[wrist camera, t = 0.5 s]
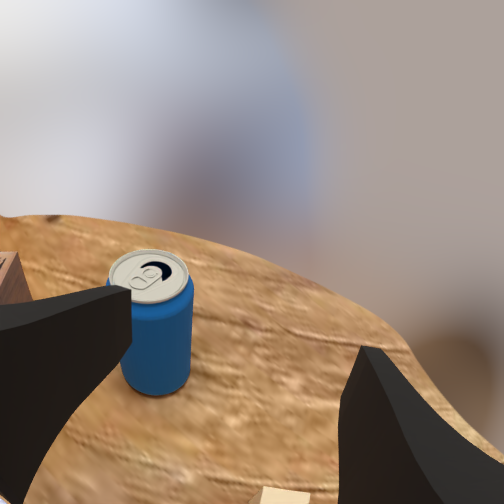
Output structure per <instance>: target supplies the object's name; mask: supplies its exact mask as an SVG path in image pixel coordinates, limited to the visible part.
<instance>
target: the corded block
mask: <svg viewBox="0 0 504 504" xmlns="http://www.w3.org/2000/svg"><path fill="white" fill-rule="evenodd" d="M309 499H310V493H305V492H297V491H290V490H283V489H277V488H271V487H266V486H263V487H262V489H261V490H260V491H259V492H258V493H257V494H256V495H255V496H254V497H253V498H252V499H251V500H250V501H249V502H248V504H309Z"/></svg>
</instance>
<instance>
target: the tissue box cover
mask: <svg viewBox="0 0 504 504" xmlns="http://www.w3.org/2000/svg"><path fill="white" fill-rule="evenodd" d="M30 301H33V299H32V296H31V293H30V290H29V287H28V284H27V281H26V278H25V275H24V272H23V269H22V265H21V262H20V258H19V255H18V251H0V305H5V304H15V303H23V302H30Z"/></svg>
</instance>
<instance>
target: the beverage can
mask: <svg viewBox="0 0 504 504" xmlns="http://www.w3.org/2000/svg"><path fill="white" fill-rule="evenodd" d="M108 285H119V286H122V287H125V288H128V289H132V344H131V345H130V347H129V348H128V350H127V351H126V353H125V354H124V356H123V357H122V359H121V360H120V364H121V368H122V372H123V375H124V377H125V379H126V381H127V382H128V383H129V384H130V385H131V386H132V387H133V388H134V389H136V390H138V391H140V392H142V393H145V394H149V395H165V394H169V393H171V392H174V391H176V390H177V389H179V388H180V387H181V386H182V385H183V384H184V383H185V382H186V380H187V378H188V376H189V373H190V359H191V335H192V315H193V297H194V285H193V282H192V279H191V277H190V275H189V274H188V269H187V266H186V264H185V263H184V262H183V261H182V260H181V259H180V258H179V257H177V256H176V255H174V254H172V253H169V252H166V251H162V250H157V249H143V250H137V251H133V252H130V253H128V254H125V255H124V256H122V257H120V258H119V259H118V260H117V261H115V263H114V264H113V265H112V267H111V269H110V272H109V278H108V280H107V283H106V286H108Z"/></svg>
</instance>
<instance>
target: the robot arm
mask: <svg viewBox="0 0 504 504" xmlns="http://www.w3.org/2000/svg"><path fill="white" fill-rule="evenodd" d="M131 344H132V289H128V288H125V287H122V286H119V285H108V286H102V287H97V288H92V289H88V290H83V291H79V292H74V293H70V294H65V295H61V296H56V297H51V298H46V299H41V300H35V301H30V302H23V303H15V304H5V305H0V495H1V496H3V497H4V498H5V499H6V500H7V501H9V502H10V503H11V504H23V502H24V499H25V496H26V494H27V492H28V489H29V487H30V485H31V483H32V480H33V478H34V476H35V474H36V472H37V470H38V468H39V466H40V464H41V462H42V461H43V459H44V457H45V455H46V453H47V452H48V450H49V448H50V447H51V445H52V443H53V442H54V440H55V439H56V437H57V435H58V434H59V432H60V431H61V429H62V428H63V427H64V425H65V424H66V422H67V421H68V419H69V418H70V416H71V415H72V414H73V413H74V411H75V410H76V409H77V408H78V407H79V405H80V404H81V403H82V402H83V401H84V400H85V399H86V398H87V397H88V396H89V395H90V394H91V392H92V391H93V390H94V389H95V388H96V387H97V386H98V385H99V384H100V383H101V382H102V381H103V380H104V379H105V378H106V376H107V375H108V374H109V373H110V372H111V371H112V370H113V369H114V368H115V367H116V365H117V364H118V363H119V362H120V360H121V359H122V357H123V356H124V354H125V353H126V351H127V350H128V348H129V347H130V345H131ZM338 446H339V496H338V504H504V465H503V464H501V463H500V462H498V461H496V460H495V459H493V458H492V457H490V456H489V455H487V454H486V453H484V452H483V451H481V450H480V449H479V448H477V447H476V446H474V445H473V444H472V443H470V442H469V441H468V440H467V439H465V438H464V437H463V436H462V435H460V434H459V433H458V432H457V431H456V430H455V429H454V428H452V427H451V426H450V425H449V424H448V423H447V422H446V421H445V420H444V419H442V418H441V417H440V416H439V415H438V414H437V413H436V412H435V411H434V409H433V408H432V407H431V406H430V405H429V404H428V403H427V402H426V401H425V400H424V399H423V398H422V397H421V395H420V394H419V393H418V392H417V391H416V390H415V389H414V387H413V386H412V385H411V384H410V383H409V382H408V380H407V379H406V378H405V377H404V376H403V374H402V373H401V372H400V371H399V369H398V368H397V367H396V366H395V364H394V363H393V362H392V361H391V360H390V358H389V357H388V356H387V355H386V354H385V353H384V352H383V351H382V350H381V349H379V348H374V347H368V346H362V345H361V347H360V350H359V353H358V355H357V358H356V361H355V363H354V366H353V368H352V371H351V373H350V376H349V378H348V381H347V383H346V386H345V388H344V390H343V393H342V395H341V399H340V409H339V420H338ZM0 504H7V503H6V502H4V501H3V500H2V499H1V498H0Z"/></svg>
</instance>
